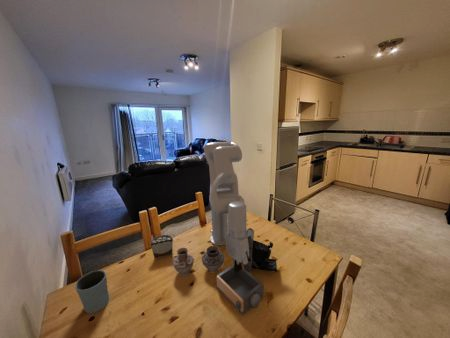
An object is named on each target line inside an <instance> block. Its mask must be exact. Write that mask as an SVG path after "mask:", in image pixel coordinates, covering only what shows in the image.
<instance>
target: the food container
mask: <svg viewBox="0 0 450 338" xmlns="http://www.w3.org/2000/svg"><path fill="white" fill-rule="evenodd" d="M173 242H175V240H174V238H173V237H172V236H171V235H169V234H161V235H158V236H156V237H154V238H153V239H151V241H150V244H149V247H151V250H152V251H151V252H152V254H153V259H154V260H156V259H160V258H161V259H162V258H164V257H169V256H173V251H174V249H173V246H174V245H173V244H174V243H173Z"/></svg>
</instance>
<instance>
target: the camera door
mask: <svg viewBox="0 0 450 338" xmlns="http://www.w3.org/2000/svg"><path fill="white" fill-rule="evenodd" d="M217 287H218V288H219V289H220V290H221V291H222V292H223V293H224V294H225V295H226V296H227V297H228V298H229V299H230V300H231V301H232V303H233V304H234V305H235V306H236V308H237V309H238V310H240V311H241V312H243V311H244V300H243V299H242V298H241V297H240V296H239V295H238V294H237V293H236V292H235V291H234V290H233V289H232V288H231V287H230V286H229V285H228V284H227V283H226V282H224V281H223V280H222V279H221V278H220V277H219V276H218V275H216V288H217ZM236 308H235V309H236ZM237 309H236V310H237ZM238 310H237V311H238Z"/></svg>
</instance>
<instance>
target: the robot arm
mask: <svg viewBox="0 0 450 338" xmlns="http://www.w3.org/2000/svg"><path fill="white" fill-rule="evenodd" d="M203 152H204V156H205V159H206V162H207V164H208V166H209V167H208V169H209V178H210V179H209V181H210V185H211V187H210V194H209V197H208V198H209V199H208V200H209V203H210V210H211V229H210V233H211V236H210V243H212V245H213V246H217V247H218V246H219V247H220V246H225V251H226V254H228V255H229V256H230V257H231V258H232V262H233V265H234V271H236V272H239V271H240V270H242V267H243V265H244V264H245V265H246V264H247V263H248V260H247V258H249V244H248V238H247V236H246V235H247V229H248V228H247V204H246V203H245V199H244V198H243V196H242V195H240V193H239V192H240V190H239V181H238V176H237V173H236V172H235V169H234V164H233V163H238V162H241V161H242V158H243V151H242V149H241V147H240V146H239V145H238V144H237V143H236V142H234V141H216V142H215V141H214V142H213V141H212V142H208V143H206V144H204V147H203ZM228 188H229V189H228ZM218 189H219V190H218ZM220 189H225V190H220Z"/></svg>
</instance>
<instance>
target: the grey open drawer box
mask: <svg viewBox="0 0 450 338" xmlns="http://www.w3.org/2000/svg"><path fill="white" fill-rule="evenodd" d="M217 276H219V277H220V278H221V279H222V280H223V281H224V282H226V283H227V284H228V285H229V286H230V287H231V288H232V289H233V290H234V291H235V292H236V293H237V294H238V295H239V296H240V297H241V298H242V299H243V300H244V311H243V312H241V311H240V310H238V309H237V308H236V306H235V305H234V304H233V303H232V301H231V300H230V299H229V298H228V297H227V296H226V295H225V294H224V293H223V292H222V291H221V290H220V289H219V288H218V287H217V286H216V290H218V291H219V293H220V294H221V295H223V296H224V298H225V299H226V300H227V301H228V302H229V303H230V304H231V305H232V306H233V307H234V309H236V310H237V312H238V313H239V314H240V315H241V316H243V315H244V314H245V313H246V312H247V313H248V311H249V310H250V309H252V308H257V307H258V306H259V304H260V303H261V300H262V299H263V298H264V283H262V281H260V280H259V279H257V278H256V277H255V276H254V275H253V274H252V273H249V272H248V271H246V270H245V269H244V266H242V270H240V271H239V272H236V271H234V264H233V265H231V266H229V267H227V268H226V269H224V270H223V271H221V272H220V273H218V274H217Z"/></svg>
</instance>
